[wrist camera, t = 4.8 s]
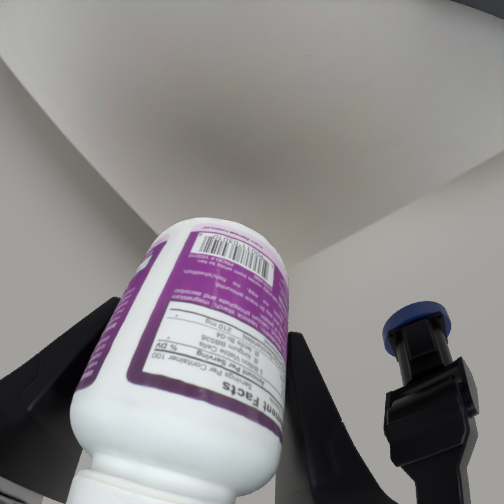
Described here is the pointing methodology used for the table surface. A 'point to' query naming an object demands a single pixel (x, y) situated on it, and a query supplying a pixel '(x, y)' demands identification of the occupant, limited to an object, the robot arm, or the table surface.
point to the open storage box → (486, 6)
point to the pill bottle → (188, 374)
